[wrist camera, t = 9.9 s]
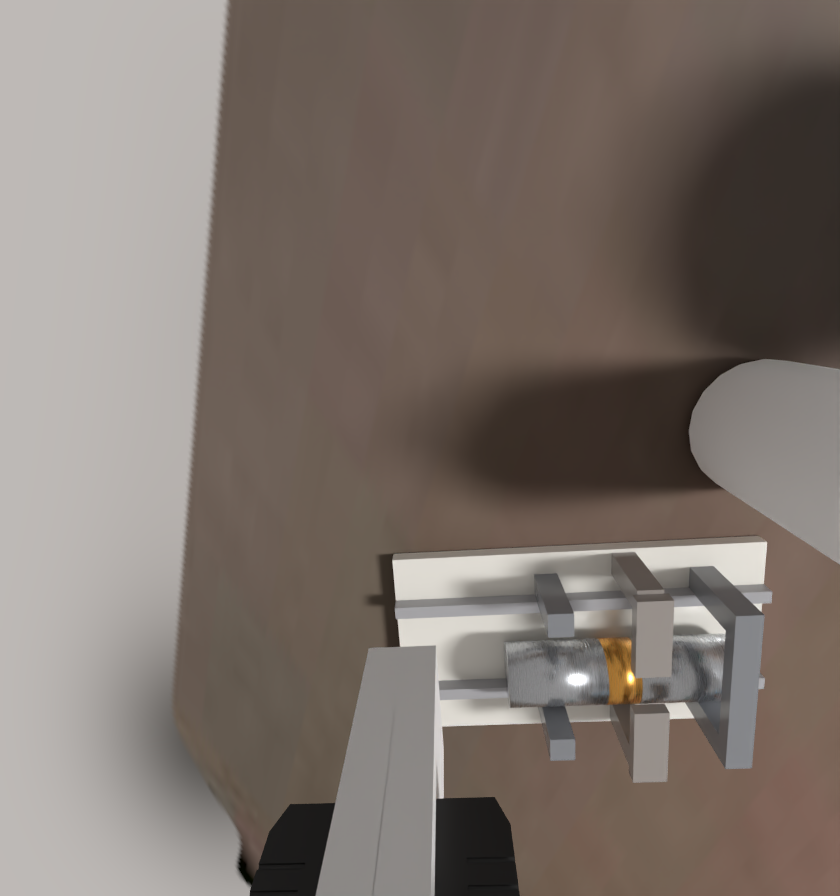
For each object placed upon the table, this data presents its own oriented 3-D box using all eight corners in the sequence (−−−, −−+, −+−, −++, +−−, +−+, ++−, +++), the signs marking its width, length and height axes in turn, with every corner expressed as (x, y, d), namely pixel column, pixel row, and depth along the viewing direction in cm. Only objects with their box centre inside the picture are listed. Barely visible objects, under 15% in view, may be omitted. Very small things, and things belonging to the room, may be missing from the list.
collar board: (393, 553, 38) (382, 607, 32) (758, 535, 37) (829, 587, 30) (408, 717, 42) (401, 798, 35) (745, 706, 40) (806, 787, 33)
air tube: (503, 659, 40) (509, 718, 37) (504, 630, 37) (511, 691, 34) (707, 651, 39) (731, 711, 36) (724, 621, 36) (751, 683, 33)
